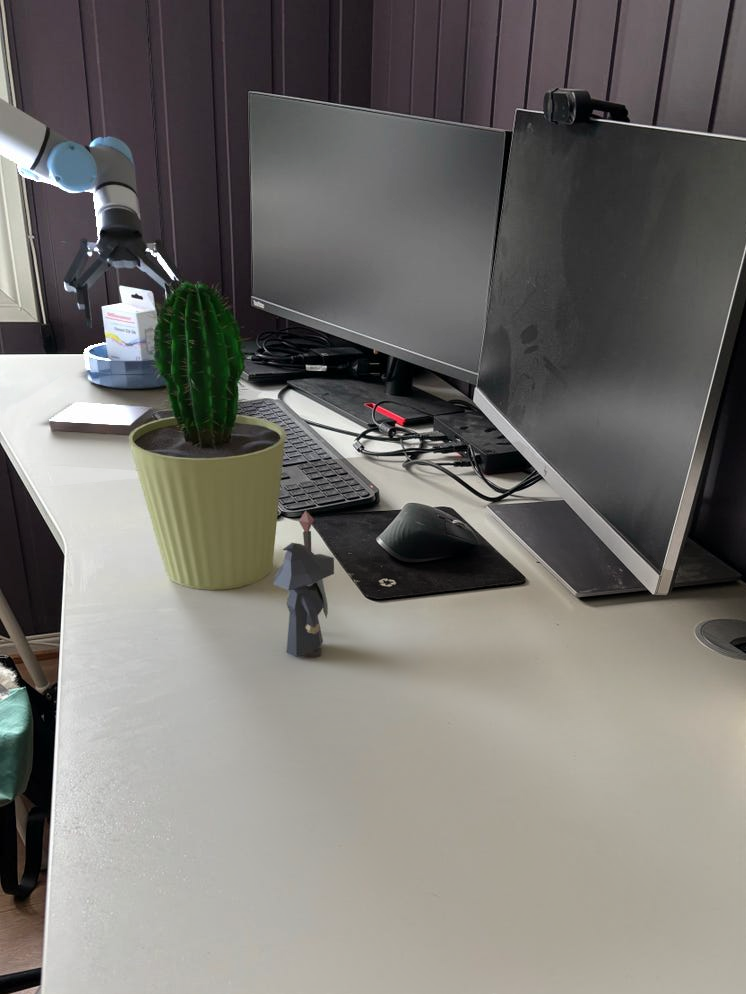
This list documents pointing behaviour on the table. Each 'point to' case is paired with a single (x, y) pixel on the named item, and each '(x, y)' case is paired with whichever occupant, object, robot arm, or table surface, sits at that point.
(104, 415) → the board
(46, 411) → the table surface
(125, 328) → the ink cartridge box
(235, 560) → the potted cactus
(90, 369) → the bowl
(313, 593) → the wizard figurine
